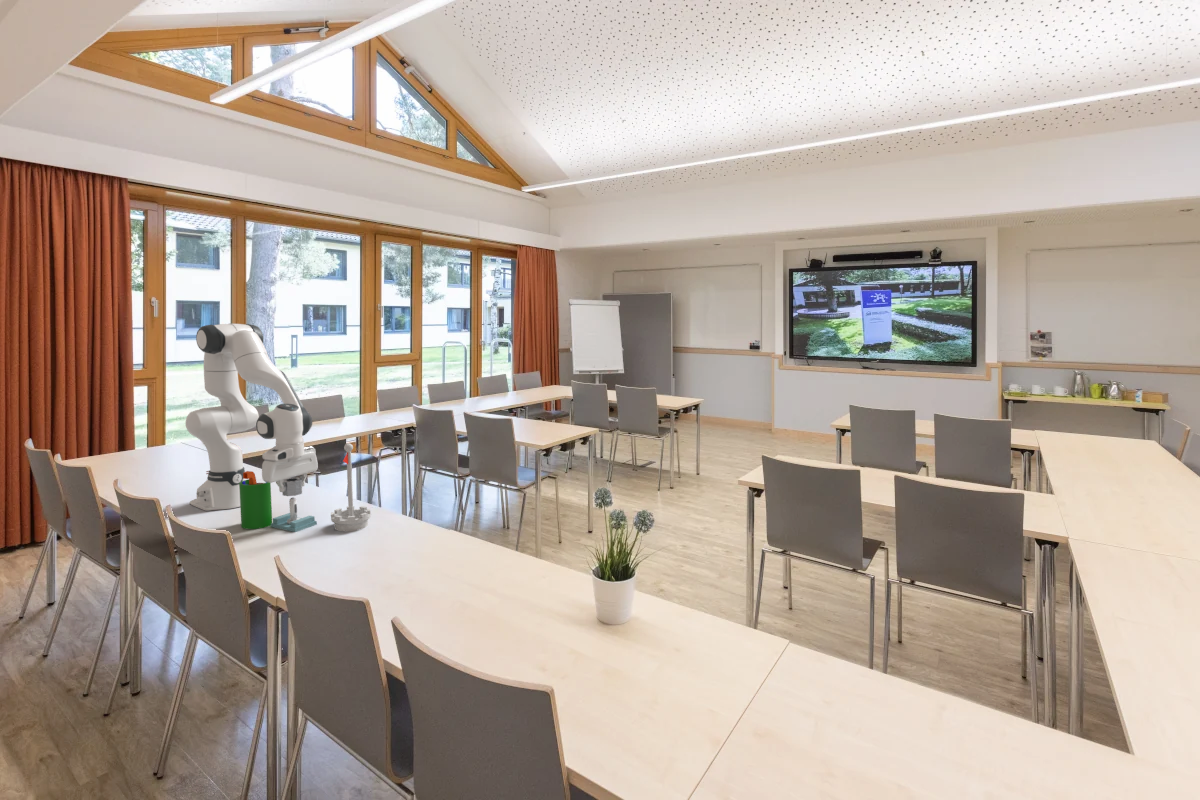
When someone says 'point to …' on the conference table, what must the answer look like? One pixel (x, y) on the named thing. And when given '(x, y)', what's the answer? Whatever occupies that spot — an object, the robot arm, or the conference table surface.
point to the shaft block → (293, 520)
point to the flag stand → (350, 504)
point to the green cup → (255, 502)
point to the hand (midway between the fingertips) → (292, 489)
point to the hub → (292, 486)
